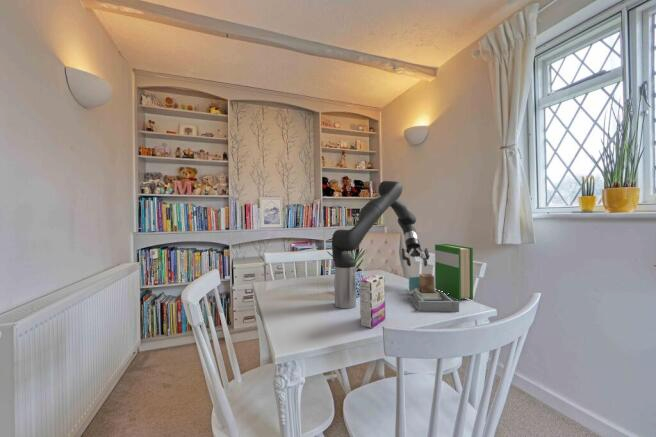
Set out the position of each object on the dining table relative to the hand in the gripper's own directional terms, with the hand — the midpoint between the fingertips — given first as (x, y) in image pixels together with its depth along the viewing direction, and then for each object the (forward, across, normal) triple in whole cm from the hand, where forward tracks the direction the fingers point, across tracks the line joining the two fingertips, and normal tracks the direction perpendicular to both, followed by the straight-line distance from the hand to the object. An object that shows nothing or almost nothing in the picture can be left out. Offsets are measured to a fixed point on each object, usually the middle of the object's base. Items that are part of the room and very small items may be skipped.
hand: (417, 265), depth 137 cm
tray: (+17, 0, -1) cm, 18 cm away
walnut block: (+18, 0, -3) cm, 18 cm away
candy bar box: (+39, -28, -21) cm, 53 cm away
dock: (+24, 0, -6) cm, 25 cm away
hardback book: (+15, +15, +4) cm, 21 cm away
